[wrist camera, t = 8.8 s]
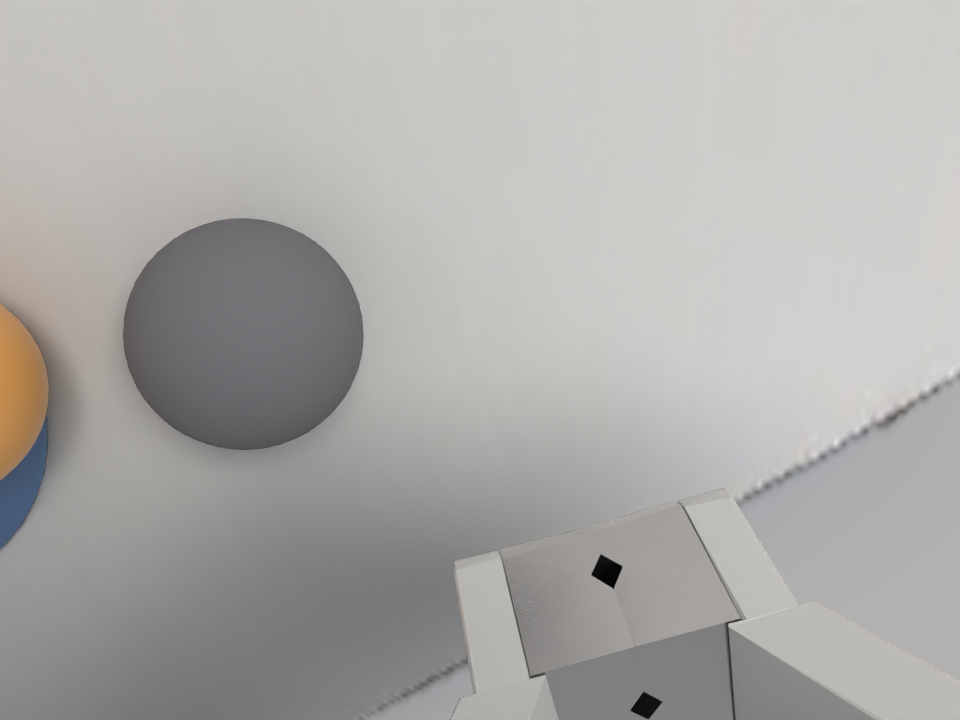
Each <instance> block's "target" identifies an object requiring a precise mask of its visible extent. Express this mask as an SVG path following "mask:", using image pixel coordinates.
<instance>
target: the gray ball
mask: <svg viewBox="0 0 960 720" xmlns="http://www.w3.org/2000/svg"><path fill="white" fill-rule="evenodd" d="M123 339H124V349H125V355H126V359H127V363H128V367H129V370H130V372H131V375H132V377H133V379H134V382H135V384H136V386H137V388H138V390H139V391H140V393H141V394H142V396H143V398H144V399H145V400H146V402H147V403H148V404H149V405H150V407H151V408H152V409H153V410H154V411H155V412H156V413H157V414H158V415H159V416H160V417H161V418H162V419H163V420H164V421H165V422H167V423H168V424H169V425H171V426H172V427H173V428H175V429H176V430H178V431H180V432H181V433H183V434H185V435H187V436H189V437H191V438H193V439H195V440H197V441H200V442H203V443H206V444H209V445H213V446H217V447H222V448H228V449H240V450H249V449H261V448H268V447H272V446H276V445H280V444H283V443H285V442H288V441H291V440H293V439H296V438H298V437H300V436H302V435H304V434H305V433H307V432H309V431H310V430H312V429H313V428H315V427H316V426H317V425H319V424H320V423H321V422H323V421H324V420H325V419H326V418H327V417H328V416H329V415H330V414H331V413H332V412H333V411H334V410H335V409H336V407H337V406H338V405H339V404H340V403H341V401H342V400H343V399H344V397H345V395H346V394H347V392H348V391H349V389H350V387H351V385H352V382H353V380H354V378H355V375H356V373H357V371H358V368H359V364H360V360H361V355H362V348H363V324H362V315H361V310H360V306H359V303H358V300H357V297H356V295H355V292H354V289H353V287H352V285H351V283H350V281H349V279H348V278H347V276H346V274H345V273H344V271H343V270H342V269H341V267H340V266H339V265H338V263H337V262H336V261H335V260H334V259H333V258H332V257H331V256H330V255H329V253H328V252H327V251H326V250H325V249H323V248H322V247H321V246H320V245H318V244H317V243H316V242H315V241H313V240H311V239H310V238H308V237H307V236H305V235H303V234H302V233H300V232H297V231H295V230H293V229H291V228H289V227H286V226H283V225H280V224H277V223H273V222H268V221H264V220H257V219H246V218H245V219H227V220H220V221H215V222H212V223H208V224H204V225H202V226H199V227H196V228H194V229H192V230H189V231H187V232H185V233H183V234H182V235H180V236H178V237H177V238H175V239H173V240H172V241H171V242H170V243H168V244H167V245H166V246H165V247H164V248H162V249H161V250H160V251H159V252H157V253H156V255H155V256H154V257H153V258H152V259H151V260H150V261H149V262H148V264H147V265H146V267H145V268H144V269H143V271H142V272H141V274H140V276H139V277H138V279H137V280H136V282H135V285H134V287H133V289H132V292H131V294H130V297H129V300H128V303H127V307H126V311H125V317H124V330H123Z"/></svg>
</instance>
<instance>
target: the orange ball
mask: <svg viewBox="0 0 960 720" xmlns="http://www.w3.org/2000/svg"><path fill="white" fill-rule="evenodd" d="M48 400H49V383H48V376H47V370H46V366H45V363H44V360H43V357H42V354H41V352H40V349H39V347H38V346H37V344H36V342H35V340H34V339H33V337H32V336H31V334H30V333H29V331H28V330H27V329H26V327H25V326H24V325H23V324H22V323H21V321H20V320H19V319H18V318H17V317H16V316H14V315H13V314H12V313H11V312H10V311H9V310H8V309H6V308H5V307H4V306H3V305H1V304H0V480H1V479H3V478H4V477H5V476H6V475H7V474H9V473H10V472H11V471H12V470H13V469H14V468H15V467H16V466H17V465H18V464H19V463H20V462H21V461H22V460H23V458H24V457H25V456H26V455H27V454H28V452H29V451H30V449H31V448H32V446H33V445H34V443H35V441H36V439H37V437H38V435H39V433H40V431H41V429H42V426H43V423H44V420H45V417H46V412H47V406H48Z"/></svg>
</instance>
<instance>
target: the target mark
mask: <svg viewBox="0 0 960 720" xmlns="http://www.w3.org/2000/svg"><path fill="white" fill-rule="evenodd" d="M47 447H48V442H47V420H46V417H45V420H44V423H43V426H42V429H41V431H40V433H39V435H38V437H37V439H36V441H35V443H34V445H33V446H32V448H31V449H30V451H29V452H28V454H27V455H26V456H25V457H24V458H23V460H22V461H21V462H20V463H19V464H18V465H17V466H16V467H15V468H14V469H13V470H12V471H11V472H10V473H9V474H7V475H6V476H5V477H4V478H3V479H1V480H0V548H1V547H3V546H4V545H5V544H6V542H7V541H8V540H9V539H10V537H11V536H12V535H13V534H14V533H15V531H16V530H17V529H18V528H19V526H20V525H21V524H22V522H23V520H24V518H25V516H26V515H27V513H28V511H29V509H30V507H31V506H32V504H33V502H34V500H35V498H36V495H37V492H38V489H39V486H40V483H41V480H42V477H43V474H44V469H45V462H46V455H47Z"/></svg>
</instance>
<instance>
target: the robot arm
mask: <svg viewBox="0 0 960 720" xmlns="http://www.w3.org/2000/svg"><path fill="white" fill-rule="evenodd" d="M501 554H502V555H501ZM454 578H455V584H456V590H457V597H458V603H459V609H460V615H461V621H462V627H463V633H464V639H465V645H466V651H467V657H468V663H469V669H470V675H471V680H472V687H473V693H474V694H472V695H469V696H466V697H462V698H460V699H459V701H458V703H457V705H456V707H455V709H454V712H453V714H452V716H451V718H450V720H960V681H959V680H957V679H955V678H953V677H951V676H950V675H948V674H946V673H944V672H942V671H940V670H939V669H937V668H935V667H933V666H931V665H929V664H928V663H926V662H924V661H922V660H920V659H918V658H916V657H914V656H913V655H911V654H909V653H907V652H905V651H904V650H902V649H900V648H898V647H896V646H894V645H893V644H891V643H889V642H887V641H885V640H883V639H882V638H880V637H878V636H876V635H874V634H872V633H871V632H869V631H867V630H865V629H863V628H861V627H860V626H858V625H856V624H854V623H852V622H850V621H848V620H847V619H845V618H843V617H841V616H839V615H837V614H836V613H834V612H832V611H830V610H828V609H826V608H825V607H823V606H820V605H819V604H817V603H815V602H813V601H812V602H808V603H804V604H799V605H798V603H797V602H796V600H795V598H794V597H793V595H792V593H791V592H790V590H789V589H788V587H787V585H786V584H785V582H784V580H783V579H782V577H781V575H780V574H779V572H778V570H777V569H776V567H775V566H774V564H773V562H772V561H771V559H770V557H769V556H768V554H767V553H766V551H765V549H764V548H763V546H762V544H761V543H760V541H759V540H758V538H757V536H756V535H755V533H754V531H753V530H752V528H751V527H750V525H749V523H748V522H747V520H746V518H745V517H744V515H743V513H742V512H741V510H740V508H739V507H738V505H737V504H736V502H735V500H734V499H733V497H732V495H731V494H730V493H729V492H727V491H726V490H724V489H723V488H722V489H718V490H715V491H711V492H707V493H704V494H700V495H697V496H693V497H690V498H686V499H683V500H679V501H678V502H677V503H676V502H671V503H668V504H664V505H661V506H657V507H654V508H650V509H647V510H643V511H640V512H636V513H633V514H629V515H626V516H622V517H619V518H615V519H612V520H608V521H605V522H601V523H598V524H594V525H591V526H588V527H587V528H583V529H579V530H575V531H571V532H567V533H563V534H559V535H555V536H551V537H547V538H543V539H538V540H534V541H530V542H526V543H522V544H518V545H514V546H510V547H506V548H502V549H501V552H500V550H498V551H493V552H489V553H485V554H481V555H477V556H473V557H469V558H465V559H461V560H457V561H454Z"/></svg>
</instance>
